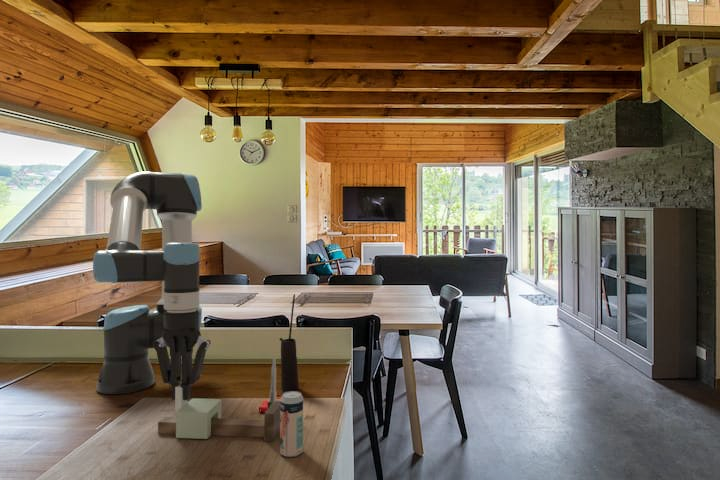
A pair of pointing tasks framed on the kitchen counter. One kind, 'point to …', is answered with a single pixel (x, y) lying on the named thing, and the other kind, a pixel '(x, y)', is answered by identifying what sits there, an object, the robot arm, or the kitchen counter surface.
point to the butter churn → (289, 361)
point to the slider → (197, 418)
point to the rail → (236, 425)
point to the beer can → (291, 424)
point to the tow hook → (273, 391)
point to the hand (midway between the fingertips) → (181, 413)
